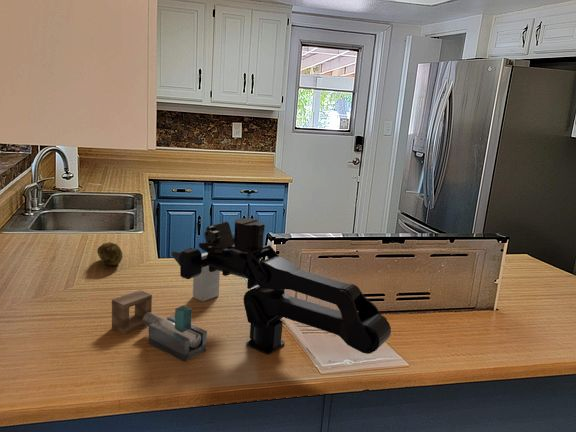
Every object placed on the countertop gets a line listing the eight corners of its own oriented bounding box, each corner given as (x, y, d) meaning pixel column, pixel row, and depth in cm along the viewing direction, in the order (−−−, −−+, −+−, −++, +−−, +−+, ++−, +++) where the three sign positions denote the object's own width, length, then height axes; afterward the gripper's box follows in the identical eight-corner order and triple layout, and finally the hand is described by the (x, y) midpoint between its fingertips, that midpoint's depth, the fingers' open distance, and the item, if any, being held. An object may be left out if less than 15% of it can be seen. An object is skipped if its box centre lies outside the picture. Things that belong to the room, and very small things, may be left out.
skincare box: (208, 291, 137) (210, 250, 134) (219, 296, 134) (221, 254, 131) (191, 297, 132) (193, 255, 129) (202, 302, 129) (204, 259, 127)
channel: (206, 350, 105) (206, 331, 104) (184, 361, 100) (185, 341, 99) (170, 333, 111) (171, 315, 110) (148, 343, 106) (148, 324, 105)
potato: (129, 259, 157) (129, 235, 155) (118, 273, 144) (119, 247, 143) (102, 257, 156) (102, 233, 154) (90, 271, 144) (89, 245, 142)
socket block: (151, 322, 116) (151, 294, 114) (123, 333, 109) (123, 304, 108) (140, 317, 118) (140, 290, 116) (111, 328, 112) (111, 299, 110)
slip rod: (200, 344, 104) (202, 312, 102) (190, 349, 101) (192, 316, 99) (153, 322, 112) (153, 291, 110) (142, 326, 109) (143, 295, 107)
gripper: (261, 220, 117) (212, 210, 125) (208, 236, 102) (156, 224, 110) (260, 264, 119) (211, 252, 128) (208, 287, 104) (157, 271, 112)
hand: (186, 249), depth 119 cm, fingers open, 9 cm apart
